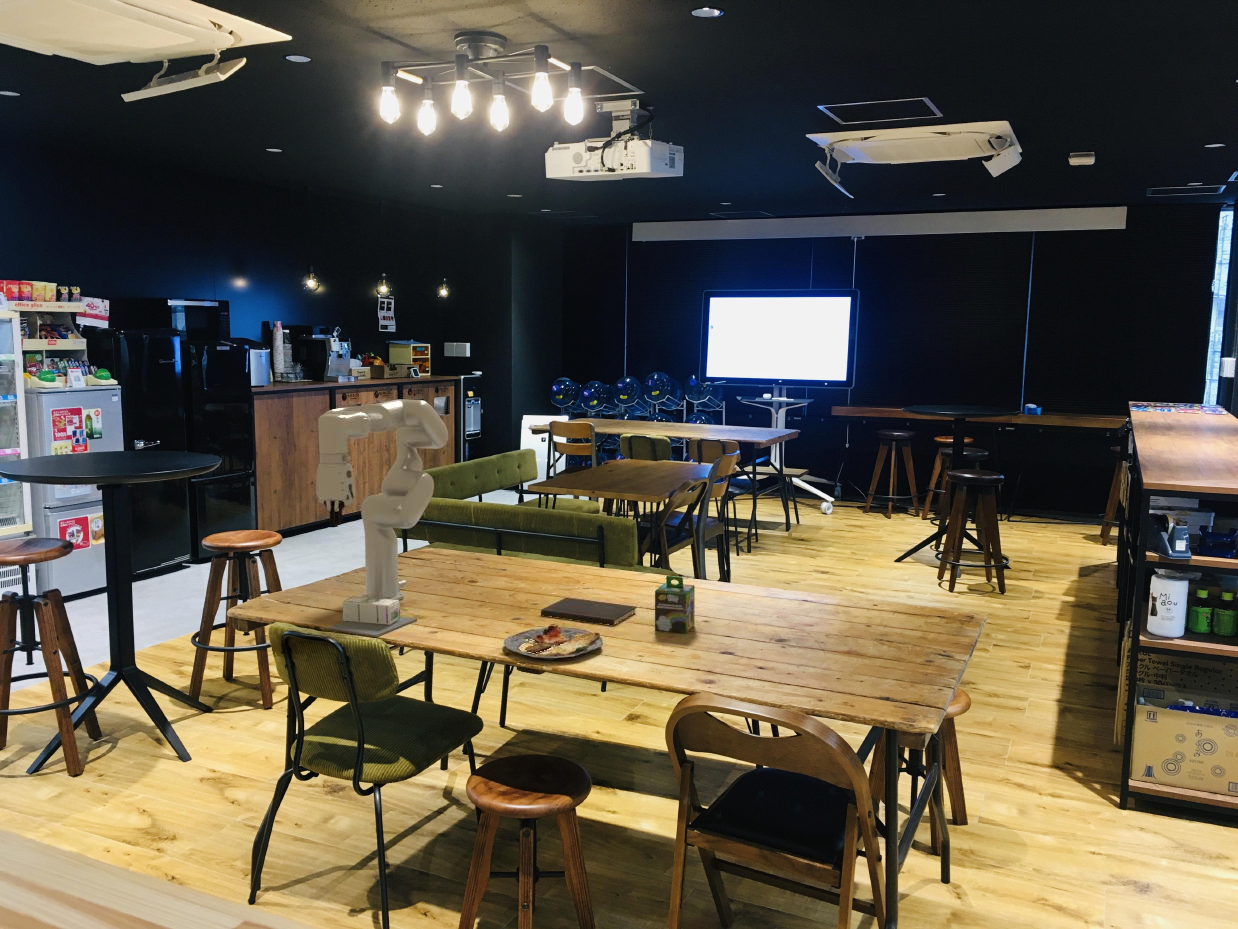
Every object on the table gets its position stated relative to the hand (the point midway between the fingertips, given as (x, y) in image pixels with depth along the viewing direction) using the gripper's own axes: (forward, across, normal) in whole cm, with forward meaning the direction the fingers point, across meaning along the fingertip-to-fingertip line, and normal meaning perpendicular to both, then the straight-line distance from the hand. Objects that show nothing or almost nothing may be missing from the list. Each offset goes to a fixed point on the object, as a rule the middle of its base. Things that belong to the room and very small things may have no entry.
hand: (336, 524), depth 269 cm
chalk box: (+27, -90, -28) cm, 98 cm away
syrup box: (+23, -5, +2) cm, 23 cm away
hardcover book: (+28, -63, -31) cm, 76 cm away
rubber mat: (+26, -14, +3) cm, 30 cm away
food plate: (+27, -67, +2) cm, 73 cm away
